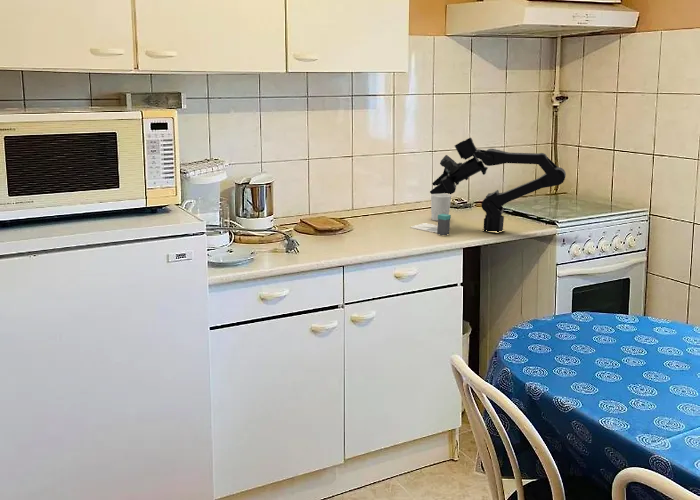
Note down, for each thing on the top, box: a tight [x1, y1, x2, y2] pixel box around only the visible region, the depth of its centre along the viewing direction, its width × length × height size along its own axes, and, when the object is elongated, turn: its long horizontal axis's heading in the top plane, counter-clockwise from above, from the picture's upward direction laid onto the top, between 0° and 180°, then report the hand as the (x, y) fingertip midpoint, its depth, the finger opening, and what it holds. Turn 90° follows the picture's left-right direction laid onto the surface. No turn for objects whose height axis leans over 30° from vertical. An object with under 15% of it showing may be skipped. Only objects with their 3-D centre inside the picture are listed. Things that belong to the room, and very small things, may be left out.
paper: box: [409, 222, 438, 234], centre depth 293 cm, size 12×10×1 cm
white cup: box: [430, 193, 452, 222], centre depth 307 cm, size 8×8×10 cm
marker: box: [436, 214, 452, 236], centre depth 283 cm, size 3×3×7 cm
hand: (431, 188), depth 294 cm, fingers open, 9 cm apart
